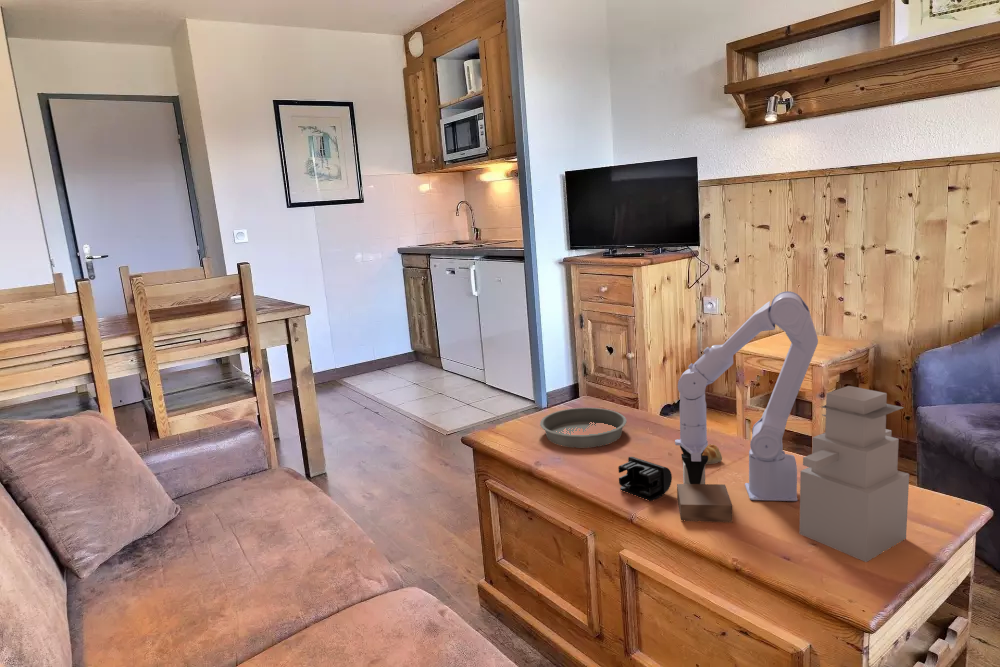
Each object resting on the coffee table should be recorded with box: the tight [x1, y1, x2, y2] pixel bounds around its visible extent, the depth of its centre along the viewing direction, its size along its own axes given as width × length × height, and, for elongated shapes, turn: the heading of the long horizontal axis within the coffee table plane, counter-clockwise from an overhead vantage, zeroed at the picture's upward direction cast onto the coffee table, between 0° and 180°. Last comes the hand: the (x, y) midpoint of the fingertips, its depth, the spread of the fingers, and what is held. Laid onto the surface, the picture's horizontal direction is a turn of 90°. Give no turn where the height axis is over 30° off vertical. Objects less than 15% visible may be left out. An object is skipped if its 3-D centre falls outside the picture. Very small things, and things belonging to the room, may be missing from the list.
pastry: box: [681, 443, 723, 465], centre depth 162 cm, size 9×7×4 cm
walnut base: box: [676, 483, 733, 523], centre depth 136 cm, size 10×10×4 cm
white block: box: [682, 461, 706, 484], centre depth 148 cm, size 4×4×6 cm
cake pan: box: [539, 407, 628, 449], centre depth 186 cm, size 25×25×4 cm
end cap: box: [618, 456, 673, 502], centre depth 147 cm, size 10×7×7 cm
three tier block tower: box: [798, 385, 910, 563], centre depth 120 cm, size 13×24×28 cm, turn 121°
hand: (694, 479), depth 148 cm, fingers closed on white block, 4 cm apart
